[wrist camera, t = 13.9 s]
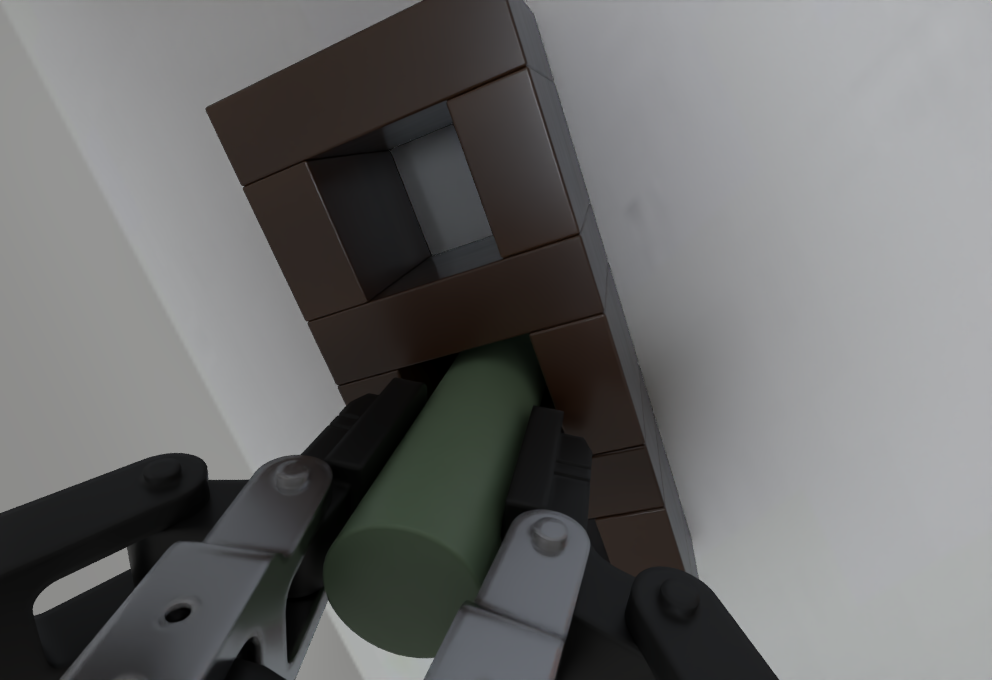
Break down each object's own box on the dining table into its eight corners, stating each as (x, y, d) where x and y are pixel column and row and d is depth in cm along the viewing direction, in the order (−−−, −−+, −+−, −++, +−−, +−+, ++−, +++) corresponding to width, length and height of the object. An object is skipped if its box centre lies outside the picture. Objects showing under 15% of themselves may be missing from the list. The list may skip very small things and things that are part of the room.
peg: (460, 390, 17) (321, 635, 9) (468, 312, 16) (320, 508, 8) (543, 407, 17) (475, 678, 9) (556, 328, 16) (495, 549, 8)
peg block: (314, 111, 17) (202, 107, 12) (533, 12, 15) (496, -38, 10) (507, 565, 22) (478, 683, 17) (691, 538, 20) (714, 665, 15)
